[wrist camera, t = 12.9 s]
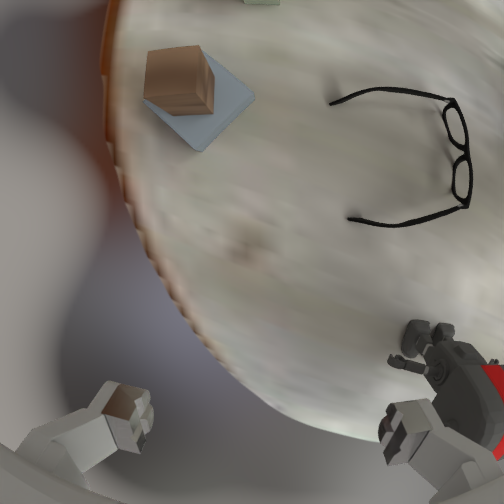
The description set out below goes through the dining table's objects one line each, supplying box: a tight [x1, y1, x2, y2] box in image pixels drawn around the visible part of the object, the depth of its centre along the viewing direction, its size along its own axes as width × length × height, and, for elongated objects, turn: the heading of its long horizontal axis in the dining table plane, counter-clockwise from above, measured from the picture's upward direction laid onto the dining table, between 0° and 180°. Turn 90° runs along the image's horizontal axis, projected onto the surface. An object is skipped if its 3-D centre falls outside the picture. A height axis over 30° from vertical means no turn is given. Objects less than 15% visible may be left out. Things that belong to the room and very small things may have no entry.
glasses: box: [329, 87, 473, 228], centre depth 31 cm, size 16×18×5 cm
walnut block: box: [143, 45, 215, 116], centre depth 25 cm, size 4×4×9 cm
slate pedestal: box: [143, 50, 255, 152], centre depth 31 cm, size 9×9×4 cm
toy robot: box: [387, 320, 504, 461], centre depth 25 cm, size 22×9×30 cm, turn 79°
